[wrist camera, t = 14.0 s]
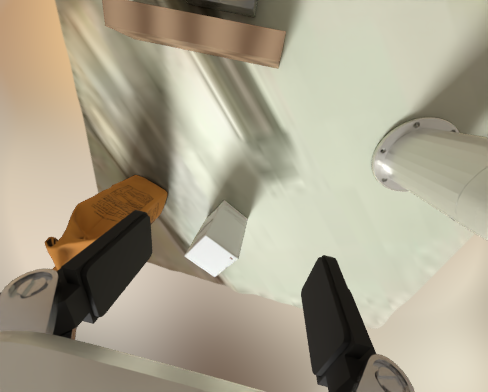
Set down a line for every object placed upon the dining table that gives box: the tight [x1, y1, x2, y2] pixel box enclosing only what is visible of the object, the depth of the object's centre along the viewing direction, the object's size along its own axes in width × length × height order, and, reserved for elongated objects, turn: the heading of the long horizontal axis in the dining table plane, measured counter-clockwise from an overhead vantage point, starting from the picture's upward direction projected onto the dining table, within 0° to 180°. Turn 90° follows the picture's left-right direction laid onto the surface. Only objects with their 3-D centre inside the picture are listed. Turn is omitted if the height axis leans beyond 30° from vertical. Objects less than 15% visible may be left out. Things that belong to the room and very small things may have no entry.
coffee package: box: [45, 175, 167, 272], centre depth 35 cm, size 10×12×22 cm
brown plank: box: [102, 0, 286, 68], centre depth 27 cm, size 24×3×6 cm, turn 80°
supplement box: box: [185, 200, 248, 277], centre depth 38 cm, size 7×7×13 cm
